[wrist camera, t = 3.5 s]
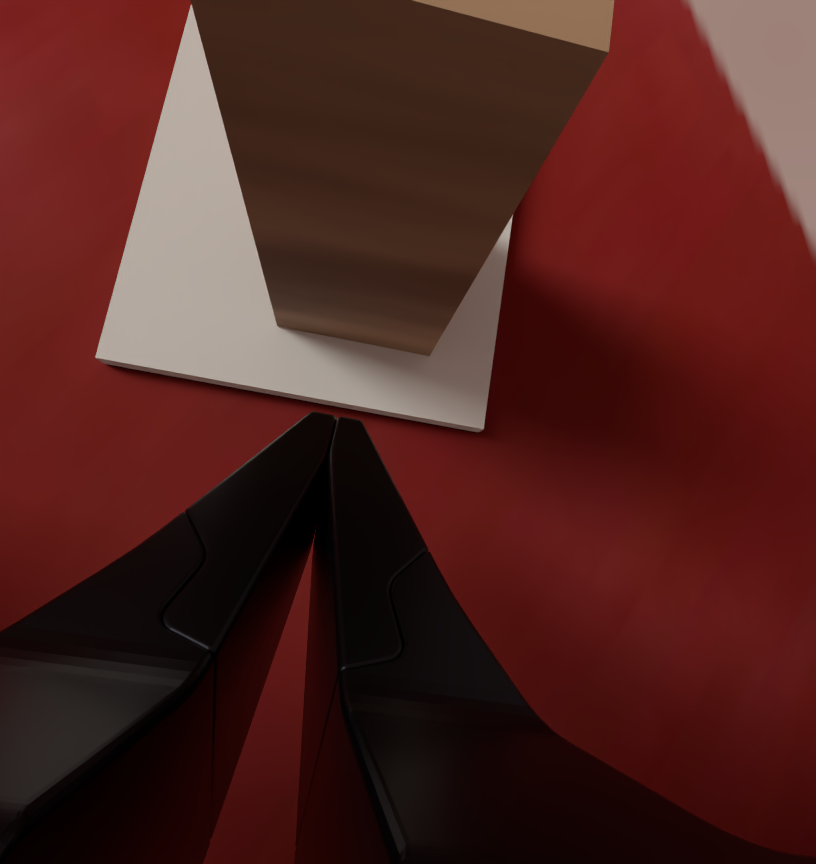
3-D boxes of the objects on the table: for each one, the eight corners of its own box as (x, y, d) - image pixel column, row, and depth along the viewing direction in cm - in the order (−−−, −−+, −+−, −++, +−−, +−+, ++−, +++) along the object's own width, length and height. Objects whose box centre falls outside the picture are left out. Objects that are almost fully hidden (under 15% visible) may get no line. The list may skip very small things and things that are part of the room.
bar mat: (478, 432, 17) (483, 428, 17) (103, 363, 16) (95, 357, 15) (550, -95, 21) (557, -113, 20) (250, -182, 20) (247, -204, 19)
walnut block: (429, 356, 17) (608, 51, 6) (277, 326, 16) (173, -63, 6) (451, 219, 18) (643, -264, 7) (306, 186, 17) (266, -391, 6)
